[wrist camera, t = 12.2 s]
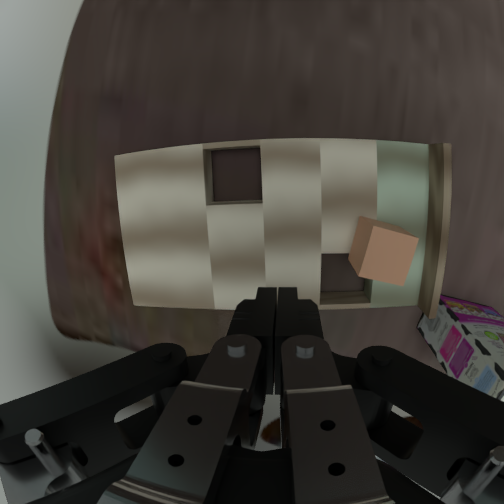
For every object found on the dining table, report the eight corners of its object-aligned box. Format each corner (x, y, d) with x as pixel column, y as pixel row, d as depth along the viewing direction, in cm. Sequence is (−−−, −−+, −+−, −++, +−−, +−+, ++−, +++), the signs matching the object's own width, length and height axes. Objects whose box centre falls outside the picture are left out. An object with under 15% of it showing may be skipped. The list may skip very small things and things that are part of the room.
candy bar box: (414, 329, 31) (473, 429, 15) (430, 290, 29) (509, 379, 14) (477, 340, 30) (539, 418, 14) (493, 306, 29) (567, 377, 13)
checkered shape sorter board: (129, 155, 29) (97, 155, 23) (422, 146, 25) (451, 144, 19) (145, 294, 33) (120, 318, 27) (413, 293, 29) (435, 318, 24)
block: (359, 215, 25) (373, 225, 21) (399, 226, 25) (418, 238, 21) (347, 258, 26) (358, 276, 22) (387, 267, 26) (403, 286, 22)
